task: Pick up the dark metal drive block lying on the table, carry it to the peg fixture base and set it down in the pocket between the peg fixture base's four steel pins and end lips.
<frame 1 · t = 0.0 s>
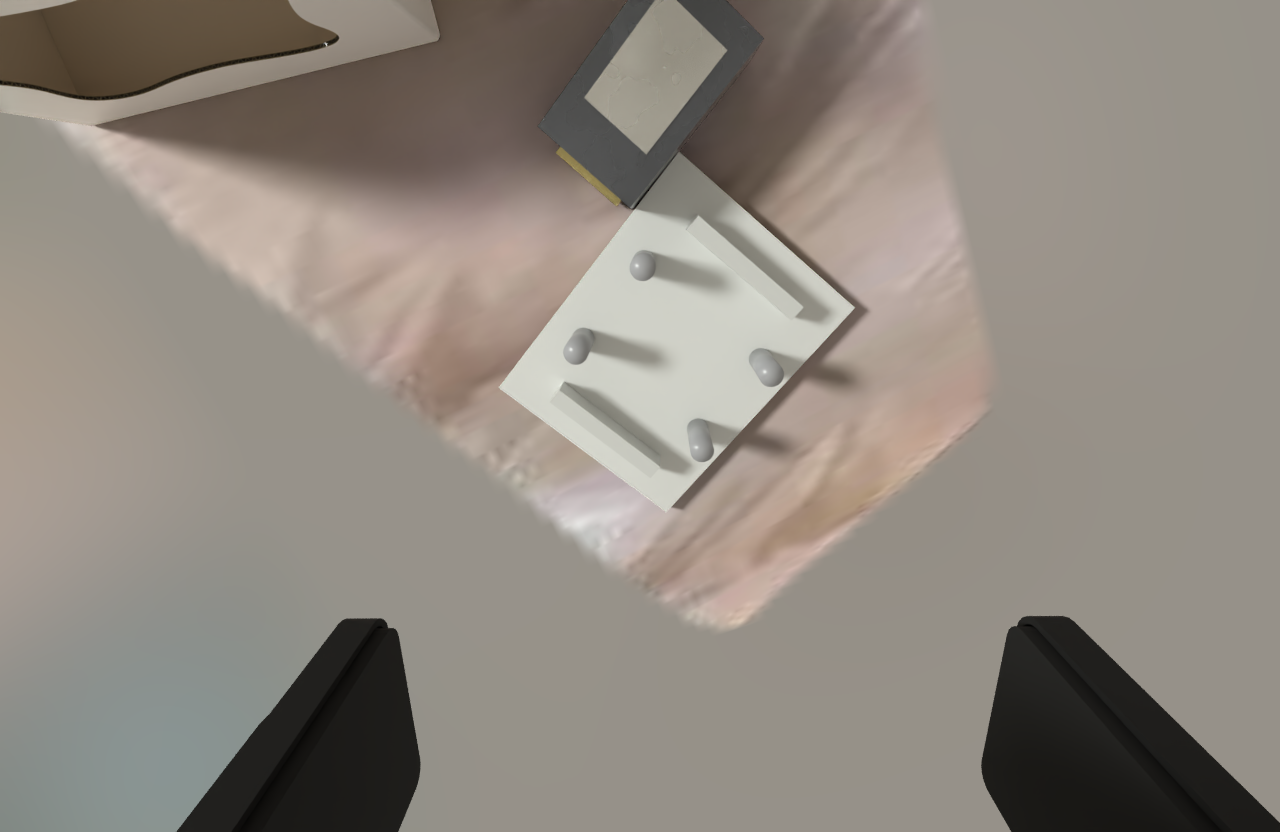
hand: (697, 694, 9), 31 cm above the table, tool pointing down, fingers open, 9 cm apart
drive: (649, 102, 35), on the table
peg fixture base: (671, 345, 39), on the table
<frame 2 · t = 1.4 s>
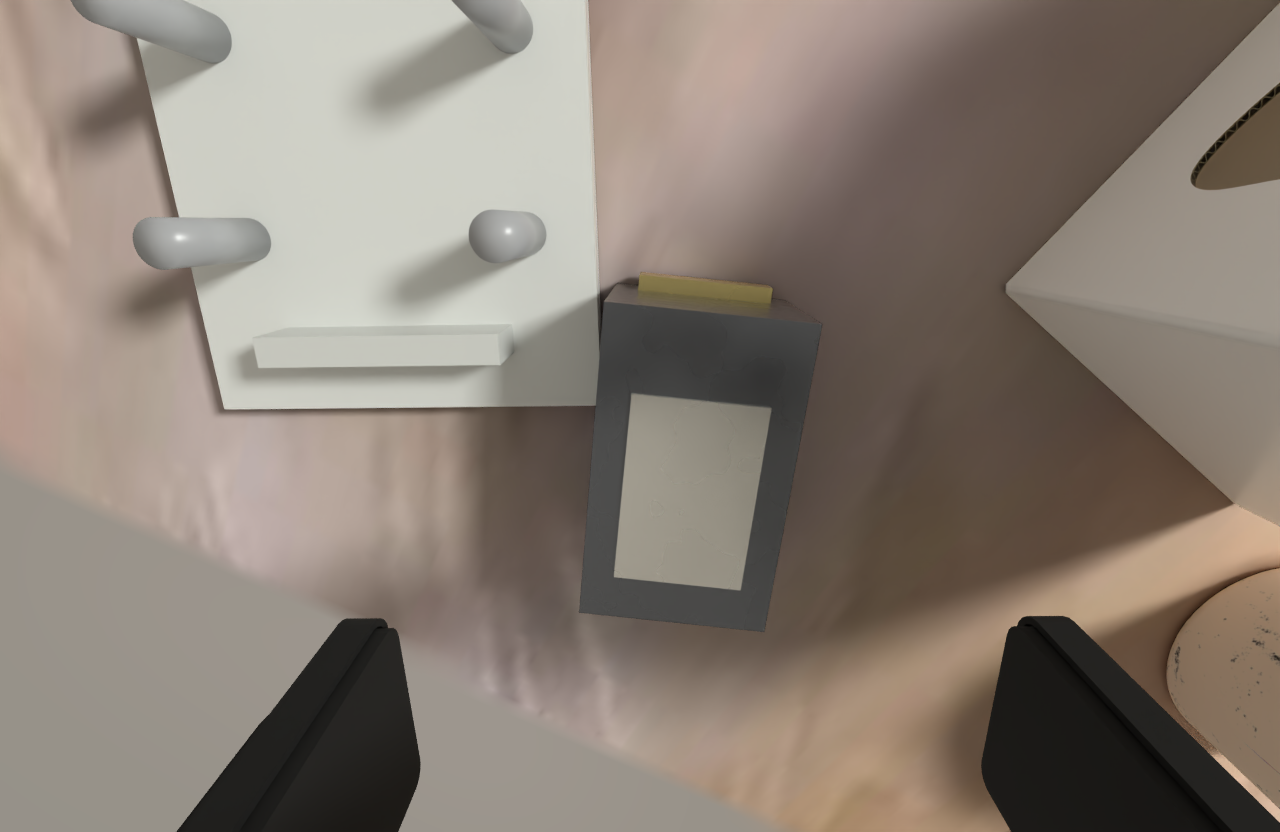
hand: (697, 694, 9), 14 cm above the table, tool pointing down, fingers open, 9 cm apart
drive: (684, 422, 24), on the table
peg fixture base: (386, 143, 21), on the table
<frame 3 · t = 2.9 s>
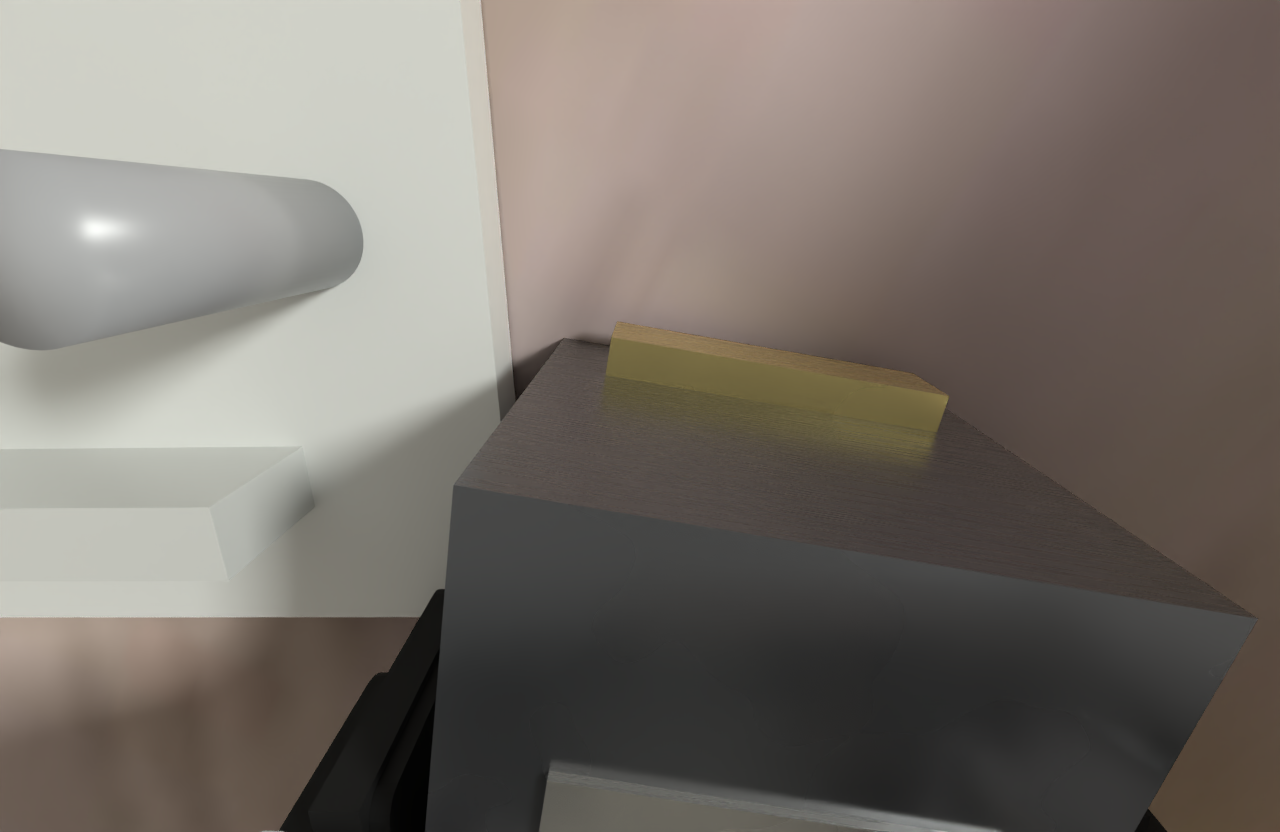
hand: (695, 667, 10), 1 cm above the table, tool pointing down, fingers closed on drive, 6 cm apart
drive: (690, 631, 11), on the table, touching gripper, peg fixture base
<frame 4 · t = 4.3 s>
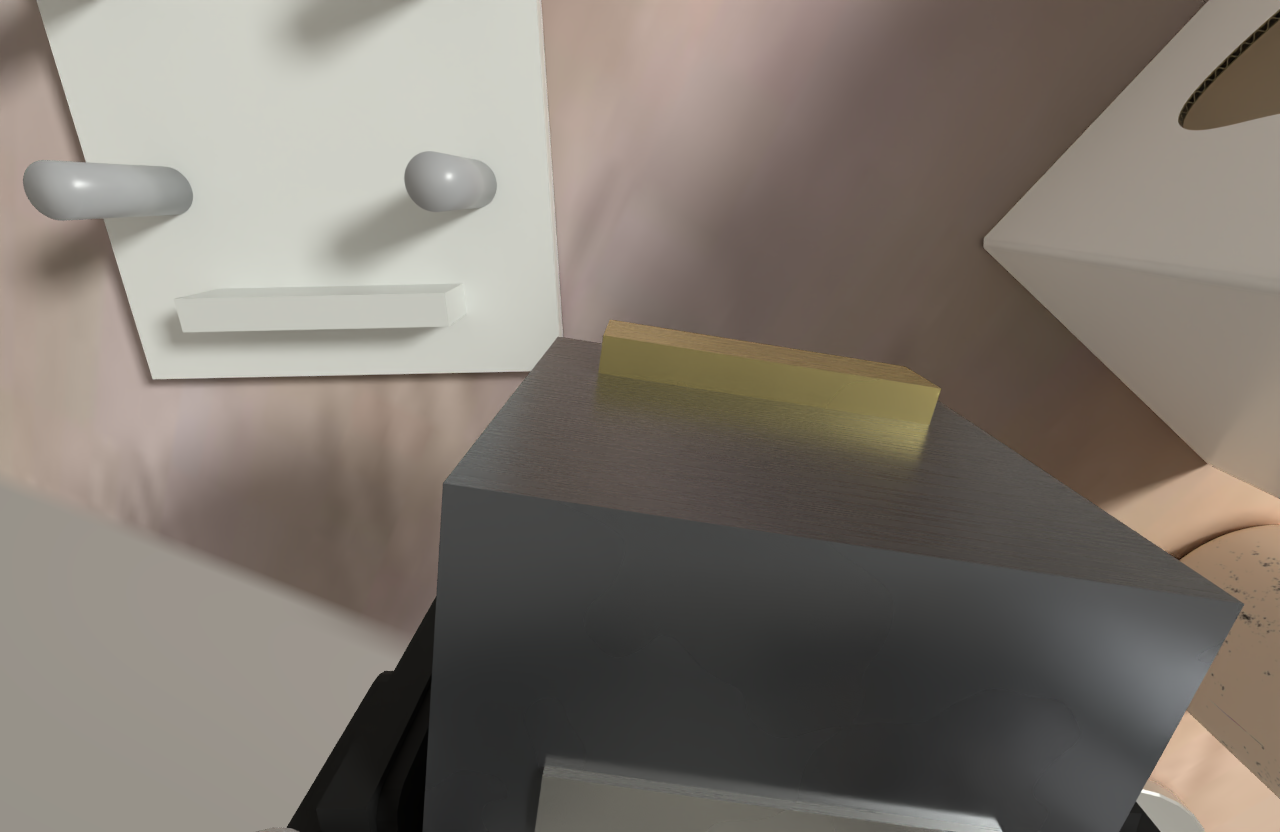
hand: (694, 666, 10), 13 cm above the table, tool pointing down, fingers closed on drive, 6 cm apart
drive: (689, 627, 11), point 12 cm above the table, touching gripper
peg fixture base: (317, 83, 19), on the table
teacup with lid: (1258, 581, 25), on the table
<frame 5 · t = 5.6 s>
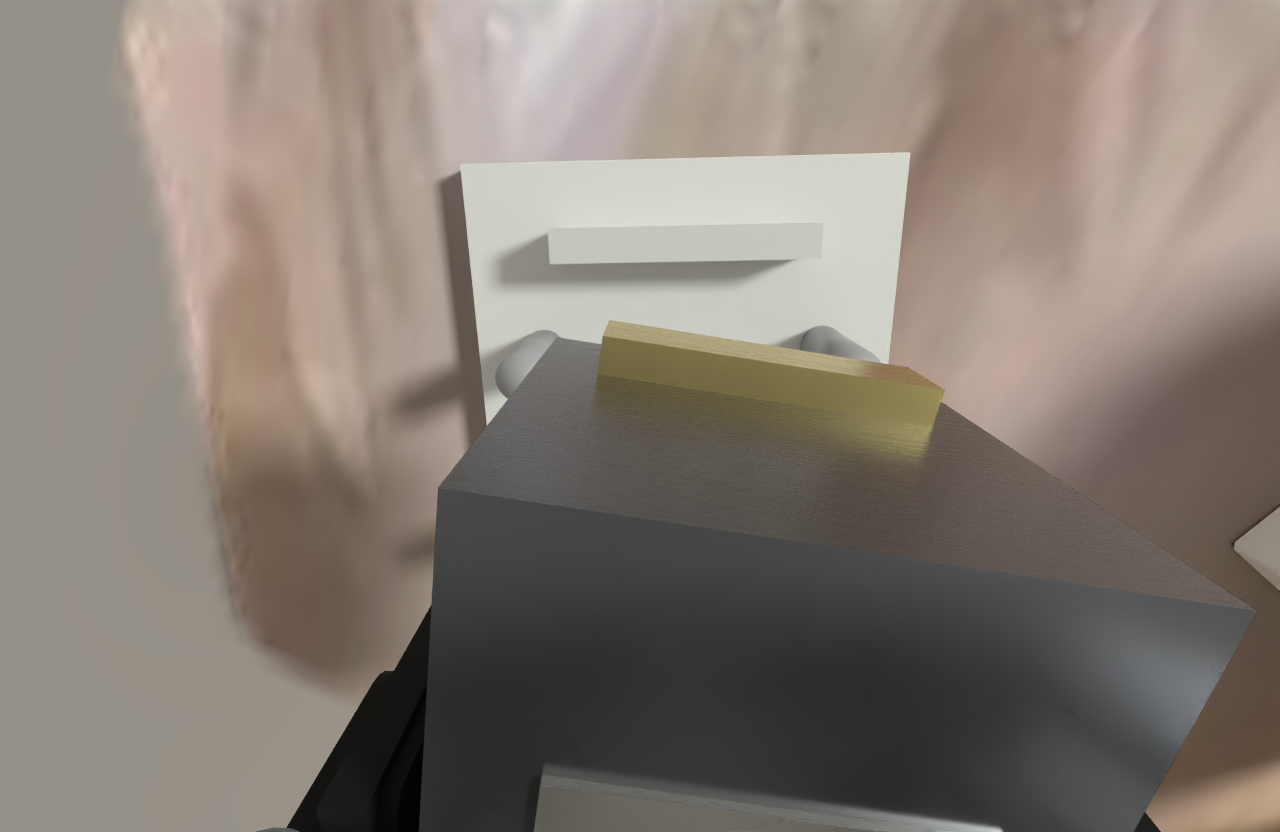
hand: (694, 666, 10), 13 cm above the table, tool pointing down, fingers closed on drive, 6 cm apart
drive: (689, 630, 11), point 12 cm above the table, touching gripper
peg fixture base: (681, 422, 23), on the table
when the fingers open (3 cm above the table, at t = 7.5 s): drive stays where it is, resting on peg fixture base.
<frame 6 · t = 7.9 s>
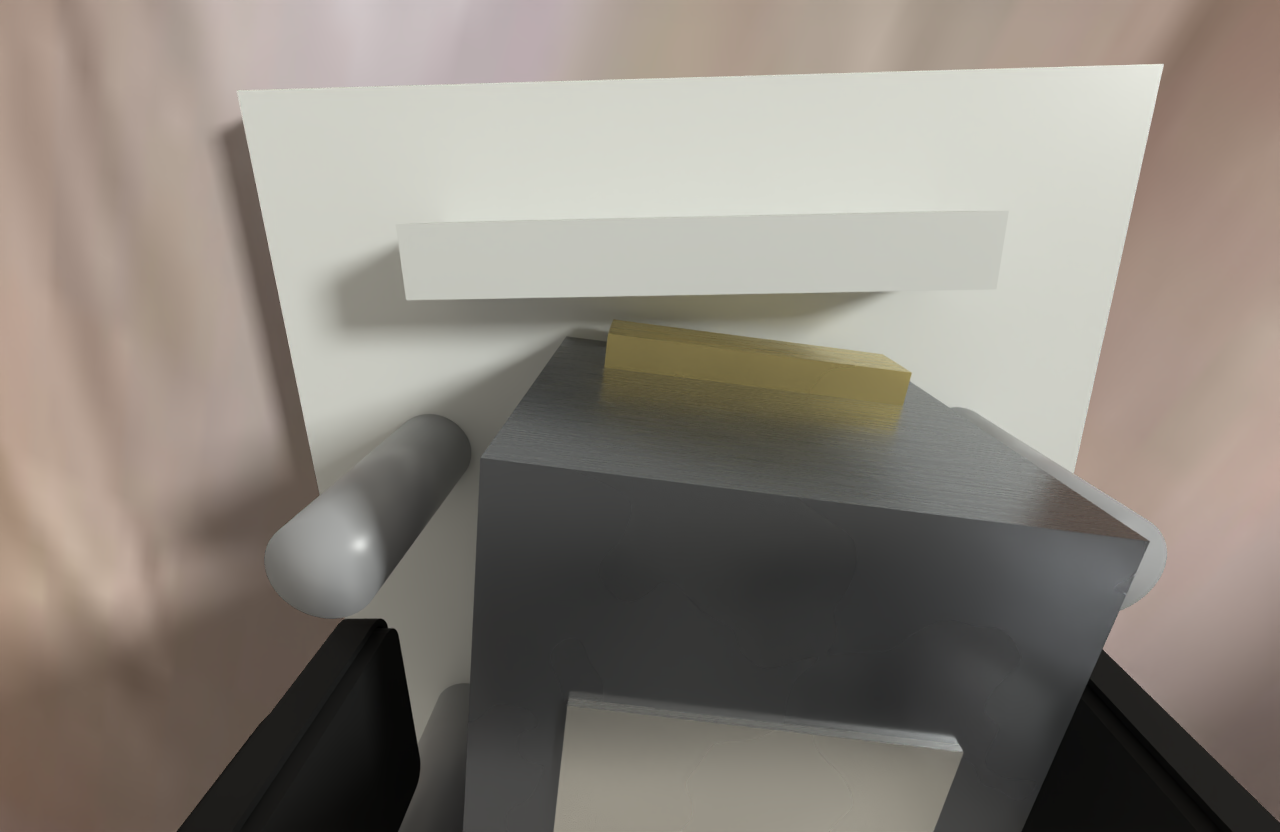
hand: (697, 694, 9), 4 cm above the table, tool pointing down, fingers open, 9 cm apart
drive: (694, 601, 12), point 1 cm above the table, touching peg fixture base
peg fixture base: (685, 561, 13), on the table
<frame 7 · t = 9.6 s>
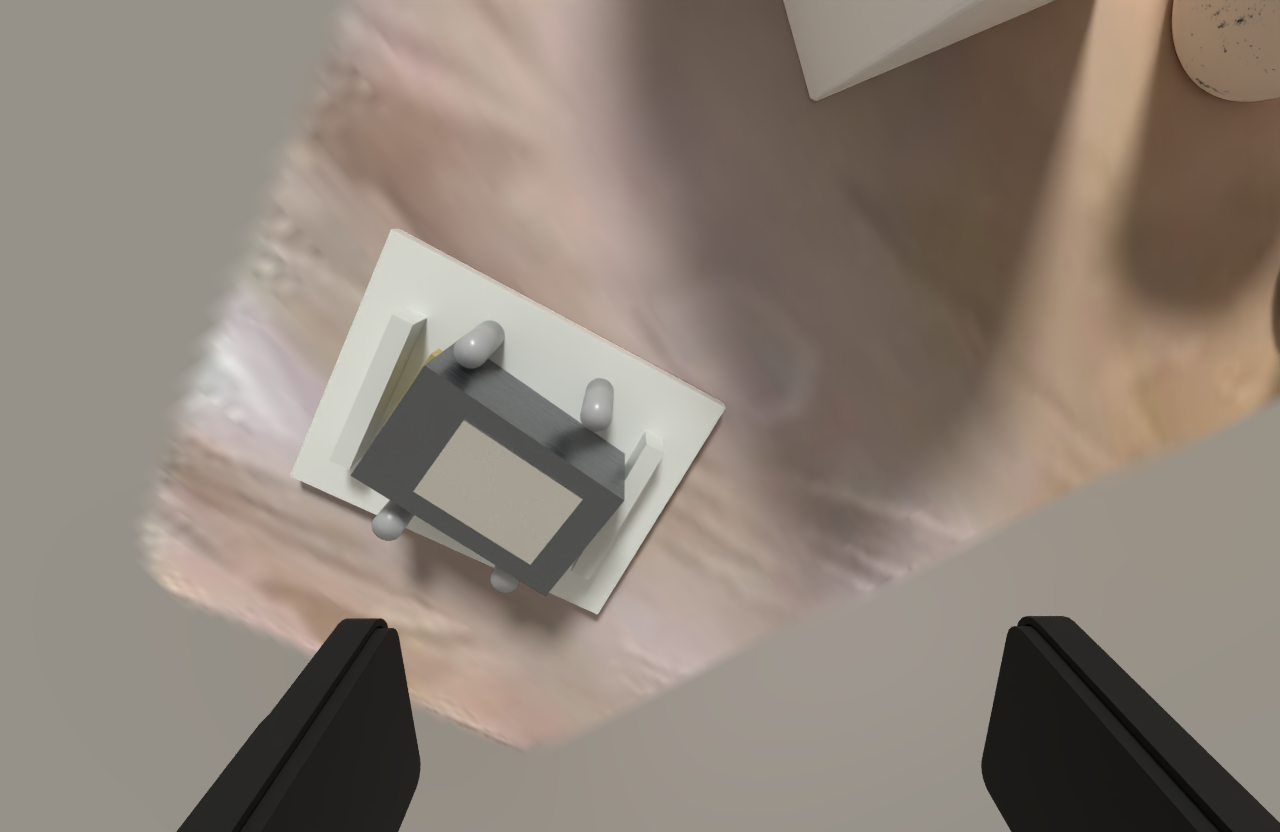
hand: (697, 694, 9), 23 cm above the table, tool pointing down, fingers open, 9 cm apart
drive: (511, 442, 32), point 1 cm above the table, touching peg fixture base
peg fixture base: (509, 435, 32), on the table
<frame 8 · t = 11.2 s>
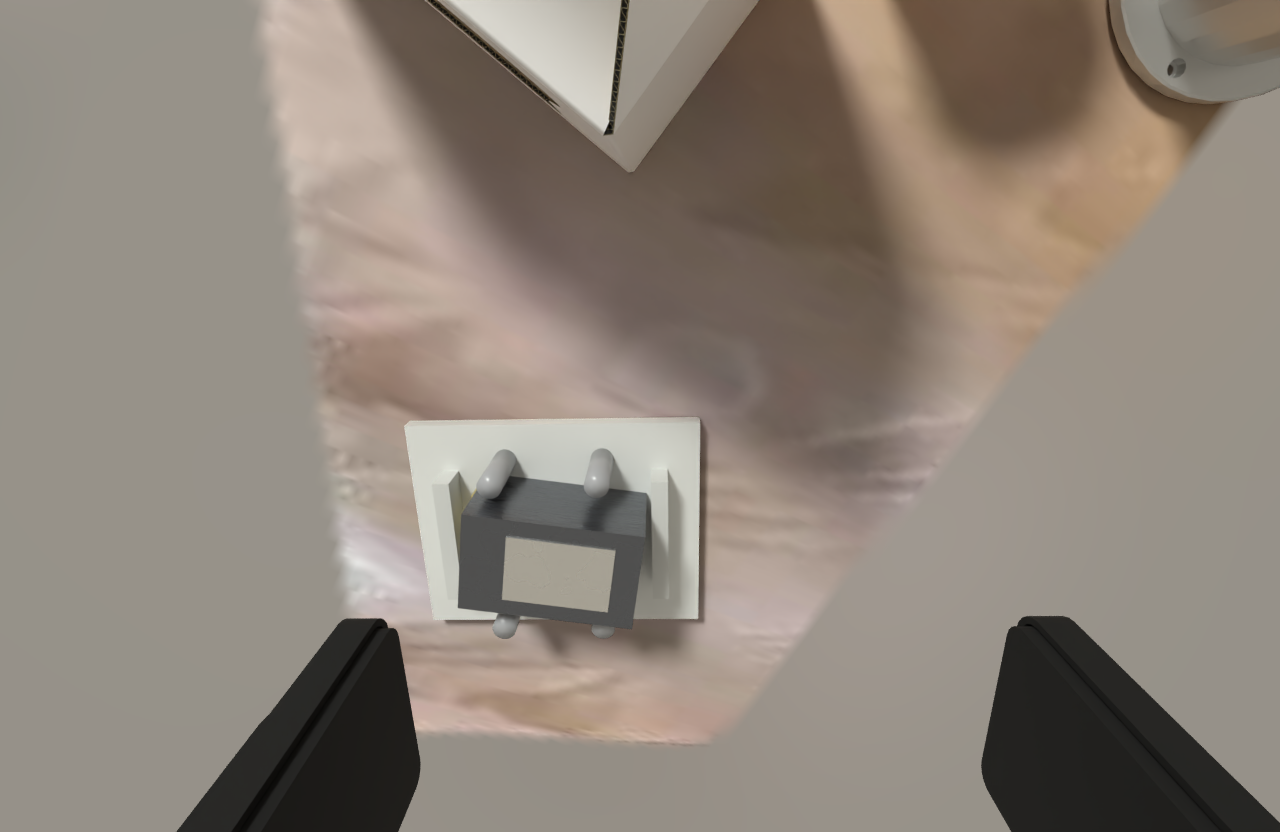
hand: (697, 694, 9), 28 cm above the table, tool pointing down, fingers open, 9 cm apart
drive: (563, 525, 39), point 1 cm above the table, touching peg fixture base
peg fixture base: (560, 519, 40), on the table
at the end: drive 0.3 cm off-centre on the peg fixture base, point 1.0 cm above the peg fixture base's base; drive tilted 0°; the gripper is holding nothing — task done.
